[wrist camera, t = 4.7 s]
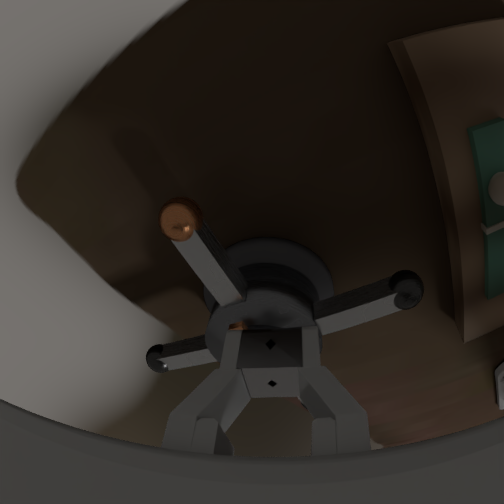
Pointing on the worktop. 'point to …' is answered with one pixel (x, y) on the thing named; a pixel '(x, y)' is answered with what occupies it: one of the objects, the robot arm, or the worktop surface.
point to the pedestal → (280, 262)
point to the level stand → (464, 155)
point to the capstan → (263, 294)
